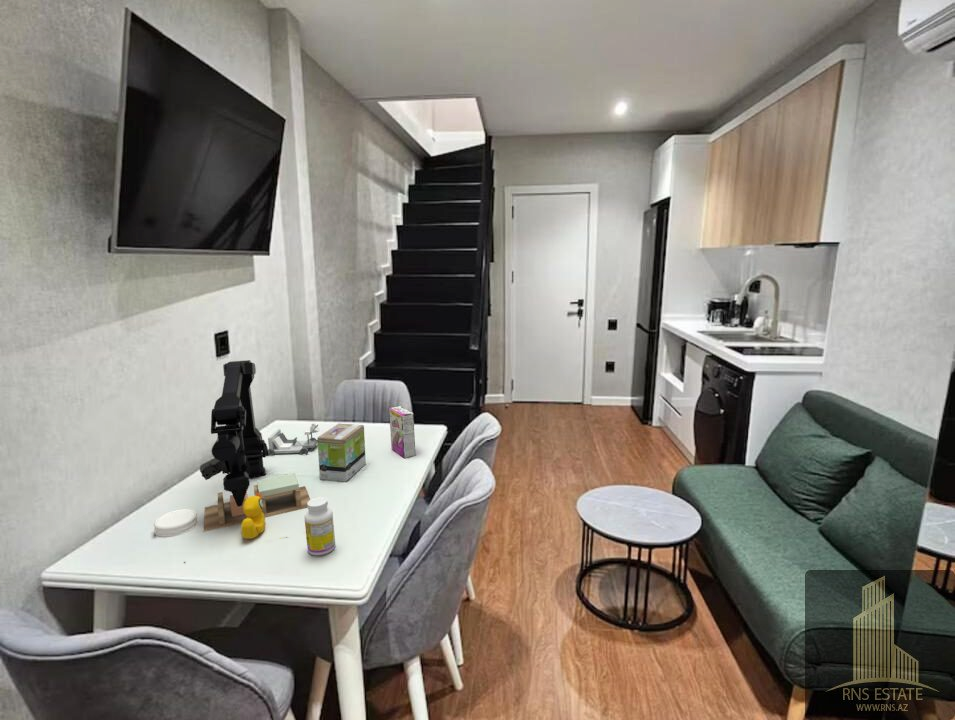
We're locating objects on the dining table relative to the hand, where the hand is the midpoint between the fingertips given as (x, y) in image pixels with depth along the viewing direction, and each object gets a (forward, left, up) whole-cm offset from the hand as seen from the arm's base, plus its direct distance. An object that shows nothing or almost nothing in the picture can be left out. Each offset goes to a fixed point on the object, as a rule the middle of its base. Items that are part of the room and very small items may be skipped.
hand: (239, 499), depth 142 cm
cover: (0, +10, +1) cm, 11 cm away
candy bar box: (-20, +55, -5) cm, 59 cm away
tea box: (-14, +32, -5) cm, 36 cm away
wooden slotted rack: (0, +5, -4) cm, 7 cm away
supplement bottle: (+30, +17, -5) cm, 35 cm away
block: (0, 0, -4) cm, 4 cm away
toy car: (-44, +20, -5) cm, 49 cm away
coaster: (+1, -16, -5) cm, 16 cm away
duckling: (+14, +3, -5) cm, 15 cm away
